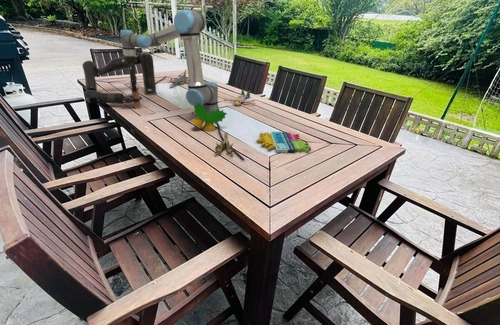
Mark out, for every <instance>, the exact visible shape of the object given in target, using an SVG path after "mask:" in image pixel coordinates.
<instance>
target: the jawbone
mask: <svg viewBox="0 0 500 325" xmlns="http://www.w3.org/2000/svg"><path fill="white" fill-rule="evenodd" d="M223 135H224V136H223V139H224V141H223V140H222V139H221V142H220V144H218V142H215V144H216V146H215V148H214V149H215V152H214V154H215V155H217V156H218V155H220V153H221V152H223V151H224V150H226V152H227V153H228V155H229V156H233V155H234V154H233V153H234V151H233V149H234V148H233V144H234V143H230V140H228V139H229V138H228V137H229V136H228V135H229V133H228V131H226V132H224V134H223Z"/></svg>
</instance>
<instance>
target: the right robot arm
mask: <svg viewBox="0 0 500 325" xmlns="http://www.w3.org/2000/svg"><path fill="white" fill-rule="evenodd" d="M206 20H207V19H206V17H205V15H204V14H203V13H202V12H201V11H199V10H192V9H180V10H178V11H177V12H176V13H175V15H174V17H173V25H170V26H168V27H165V28H163V29H161V30H158V31H155V32H154V33H151V34H148V33H147V34H134V33H133V32H134V31H133V30H131V29H121V30H120V31H119V33H120V41H121V47H122V53H123V54H122V55H123V57H124V60H125V62H127V63H129V65H128V68H127V69H128V72H129V78H130V81H129V83H130V84H132V91H133V92H137V89H136V84H138V83H137V80H138V77H137V75H136V74H137V73H136V65H134V63H135V62H137V59H136V56H135V55H136V53H137V50H136V48H139V49H149V48H152V47H153V48H154V47H160V46H162V44H165V43H167V42H170V41H172V40H176V39H178V38H180V39H181V40H182V42H183V49H184V54H185V60H186V68H187V73H188V77H189V78H188V79H189V80H190V82H189V80H188V82H189V83H188V84H187V91H186V93H185V98H186V101H187V102H188V104H190V105H191V106H192V107H194V106H196V102H197V103H198V104H201V106H204V109H206V112H208V113H211V112H212V110H214V111H216V110H217V109H219V111H221V110H220V108H219V102H218V99H219V98H218V97H219V87H218V83H217V82H216V81H215V82H214V81H206V80H204V75H203V74H204V73H203V68H202V60H201V52H200V51H201V50H200V45H199V44H200V43H199V38H200V36H201V32H203V31H204V30H205V29H206V26H207V21H206ZM132 91H131V92H132ZM208 113H207V115H208ZM215 124H216V125H217V130H218V133H219V136H220V138H221V141H222V140H223V141H224V136H223V134H222V133H221V128H220V126H221V125H220V124H219V122H218V123H215ZM233 153H234V154H235V155H237V156H238V157H239V158H240V159H241V160H242V161H245V158H244V157H243V156H242V155H241V154H240V153H239V152H238V151H237V150H235V149H234V148H233Z"/></svg>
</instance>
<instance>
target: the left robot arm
mask: <svg viewBox="0 0 500 325" xmlns="http://www.w3.org/2000/svg"><path fill="white" fill-rule="evenodd" d="M135 56H136V59H137V62H135V63H134V65H135V66H137V65H141V73H142V80H143V88H144V89H143V90H144V94H145V95H146V96H155V95H157V86H156V84H158V83H160V82H161V81H163V80H165V79H166V77H167V76H164V77H163V78H161V79H159V80H158V81H156V77H155V66H154V58H153V55H152V54H151V53H150V52H148V51H143V52H140V53H137V54H136V55H135ZM128 65H129V63H127V62H125V60H124V56H119V57H114V58H112V59H110V60H109V61H108V62H107V63H106V64H105V65H104V66H101V67H98V66H97V65H96V63H95V62H94V61H93V60H86V61H84V62H82V65H81V66H82V70H83V74H84V80H85V91H84V93H83V95H84V96H83V97H85V99H86V101H87V103H88V104H89V105H93V106H94V105H95V106H96V105H98V103H99V101H100V103H103V104H115V105H123V104H133V102H139V99H133V97H132V94H126V95H124V93H123V92H102V91H98V85H97V80H96V78H97V77H100V76H103V75H106V74H110V73H114V72H118V71H123V70H127V69H129V68H128ZM142 98H143V97H142V96H140V101H142V100H143V99H142Z"/></svg>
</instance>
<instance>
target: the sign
mask: <svg viewBox="0 0 500 325" xmlns="http://www.w3.org/2000/svg"><path fill="white" fill-rule="evenodd" d="M299 136H300V135H299V134H298V133H296V134H294V133H291V132H287V131H270V132H264V133H263V132H260V133H259V139H258V138H257V139H256V143H257V144H261V148H263V147H264V148H265V149H267V151H268V152H271V151H272V150H273V149H275V152H276V153H283V154H285V153H287V154H288V153H290V154H293V153H296V152H298V153H301V152H305V153H310V151H311V150H312V149H311V148H312V146H309V142H304V141H303V139H302V138H299Z"/></svg>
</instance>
